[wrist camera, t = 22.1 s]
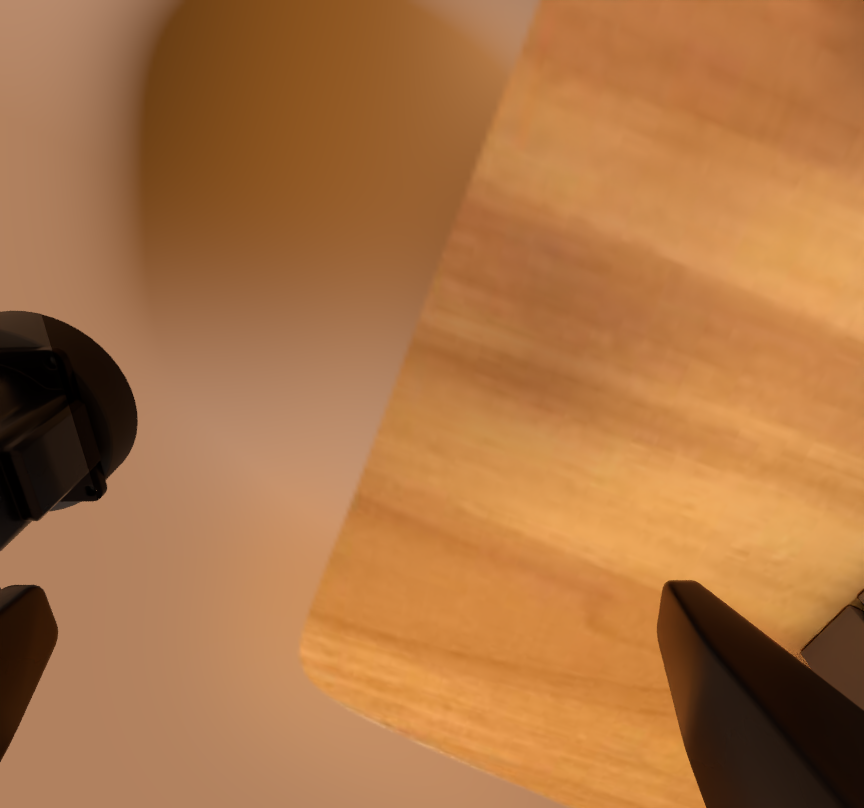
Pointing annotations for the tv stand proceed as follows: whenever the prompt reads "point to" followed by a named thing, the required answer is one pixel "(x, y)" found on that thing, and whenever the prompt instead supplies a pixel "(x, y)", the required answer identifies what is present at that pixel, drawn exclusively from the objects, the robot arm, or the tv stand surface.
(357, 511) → the tv stand surface
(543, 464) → the tv stand surface
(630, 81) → the tv stand surface
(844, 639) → the grey books
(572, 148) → the tv stand surface
